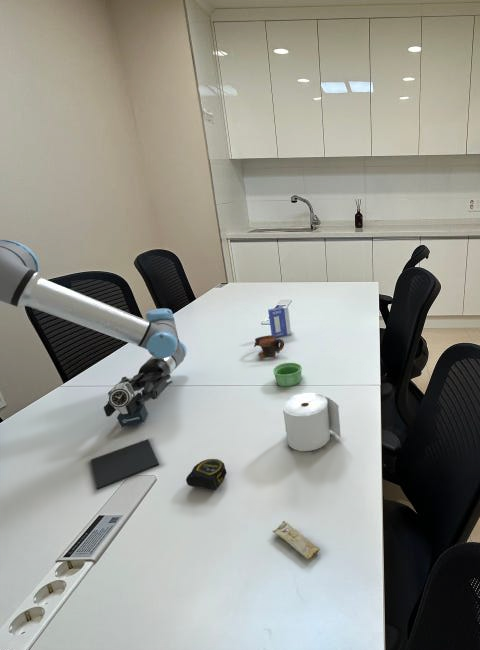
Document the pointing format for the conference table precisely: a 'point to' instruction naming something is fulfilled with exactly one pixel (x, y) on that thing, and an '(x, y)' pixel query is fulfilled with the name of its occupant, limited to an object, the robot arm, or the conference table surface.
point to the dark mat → (123, 463)
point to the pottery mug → (269, 346)
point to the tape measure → (207, 474)
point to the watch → (121, 398)
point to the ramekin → (287, 374)
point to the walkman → (279, 321)
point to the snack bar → (296, 540)
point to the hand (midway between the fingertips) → (117, 411)
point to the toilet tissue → (310, 420)
